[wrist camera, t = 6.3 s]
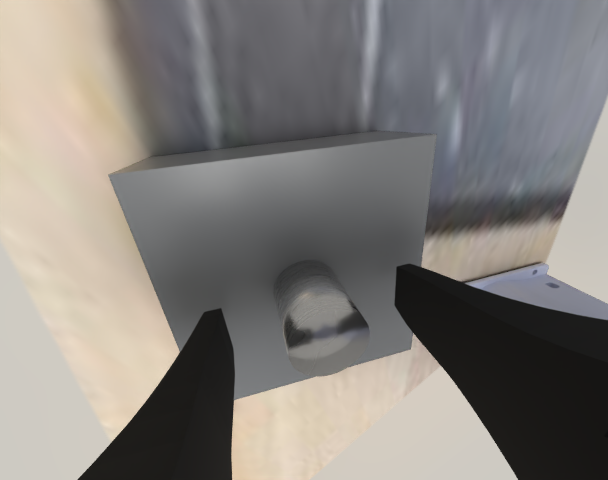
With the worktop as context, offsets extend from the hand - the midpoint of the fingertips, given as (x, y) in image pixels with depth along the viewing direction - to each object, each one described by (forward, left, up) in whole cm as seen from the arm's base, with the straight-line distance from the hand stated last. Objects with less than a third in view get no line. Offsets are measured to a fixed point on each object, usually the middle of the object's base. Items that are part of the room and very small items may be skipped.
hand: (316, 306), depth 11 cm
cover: (0, 0, -7) cm, 7 cm away
